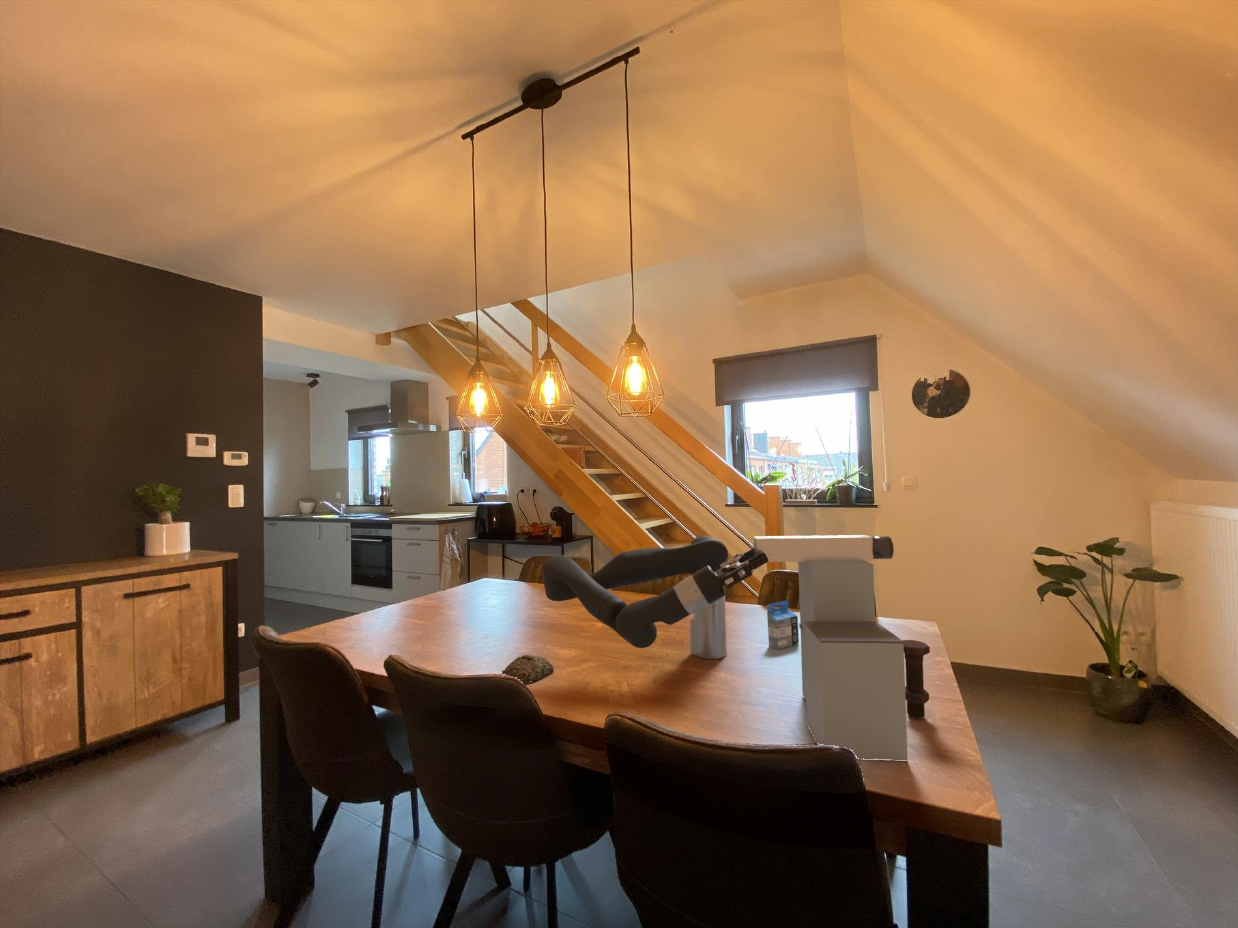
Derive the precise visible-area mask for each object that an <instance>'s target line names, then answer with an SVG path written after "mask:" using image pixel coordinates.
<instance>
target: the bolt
mask: <svg viewBox="0 0 1238 928" xmlns="http://www.w3.org/2000/svg"><path fill="white" fill-rule="evenodd" d="M901 640H902V641H903V643H904V667H905V699H906V715H908V717H910V718H913V719H915V720H919V719H923V718H925V717H926V715H925V711H926V710H925V704H927V703H928V701H929V700H930V693H929V692H928V691H927V690H926V689H925V687H924V685H925V684H924V656H925V655H928V654H930V652H931V649H930V646H929V645H928V644H926V643H925V642H923V641H919V640H915V639H901Z"/></svg>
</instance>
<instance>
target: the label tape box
mask: <svg viewBox="0 0 1238 928" xmlns="http://www.w3.org/2000/svg"><path fill="white" fill-rule="evenodd" d="M766 607H767V611H766V612H767V613H766V616H767V630H768V631H767V633H768V634H767V635H768V646H769V647H770V648H773V649H775V650H782V649H785V648H788V647H791V646H795V645H799V643H800V641H799V640H800V638H799V620H798V618H799V617H798V615H797V614H795V613H794V612H793V611H792V610H791V609H790V608H789V600H784V601H779V602H774V603H770V604H767V606H766ZM776 607H778V608H776Z"/></svg>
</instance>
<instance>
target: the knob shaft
mask: <svg viewBox="0 0 1238 928" xmlns="http://www.w3.org/2000/svg"><path fill="white" fill-rule="evenodd" d="M753 548H754V557H755V556H756V555H758V554H760V553H761V552H764V553H765V554H766V556H767V558H768V560H769V561H768V562H767V563H769V562H771V563H772V562H774V563H776V562H777V563H779V562H784V563H785V562H786V563H787V562H788V563H791V562H792V563H793V562H795V563H796V562H797V563H798V562H810V561H867V562H874V560H892V558H893V557H894V550H895V549H894V543H893V539H892V538H891V537H890V536H886V535H885V536H884V535H883V536H880V535H879V536H878V535H877V536H870V535H868V534H867V535H866V534H859V535H858V534H851V535H850V534H849V535H848V534H847V535H845V534H843V535H842V534H841V535H839V534H838V535H835V534H834V535H770V536H769V535H768V536H766V535H761V536H758V535H757V536H756V535H754V536H753Z"/></svg>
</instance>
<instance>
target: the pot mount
mask: <svg viewBox="0 0 1238 928" xmlns="http://www.w3.org/2000/svg"><path fill="white" fill-rule="evenodd" d="M797 563H798V588H799V590H798V591H799V592H798V593H799V620H800V622H798V629H800V648H801V649H800V651H801V652H800V653H801V654H800V656H801V683H802V684H801V685H802V690H801V691H802V697H803V696H804V698H805V699H804V698H803V699H804V701H805V700H806V701H805V702H807V703H806V718H807V719H806V724H808V726H809V728H810V730H811V732H812V734H813V735H814V737H815V739H816V741H815V744H817V743H819V744H824V745H835V746H839V747H846V748H848V749H851V750H853V752H854V753H855V755H856V756H857V758H859V760H858V761H864V760H863V758H864V759H875V758H876V759H891V760H892V759H893V760H908V736H907V735H908V733H907V728H908V726H907V700H906V699H905V686H906V670H905V654H904V643H903V641H902V640H903V639H901V638H900V637H898V636H897V635H895V634H894V633H893V632H892V631H890V630H889V629H888V628H886V627H884V626H883V625H882V624H880V623H879V622H877V621H876V604H875V603H876V602H875V600H876V599H875V579H874V578H875V576H874V573H875V572H874V571H875V570H874V564H873V563H871V562H870V561H810V562H797ZM808 726H807V727H808ZM809 728H808V729H809ZM810 730H809V731H810ZM811 732H810V733H811ZM812 734H811V735H812ZM815 739H814V740H815ZM861 759H862V760H861Z"/></svg>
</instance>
